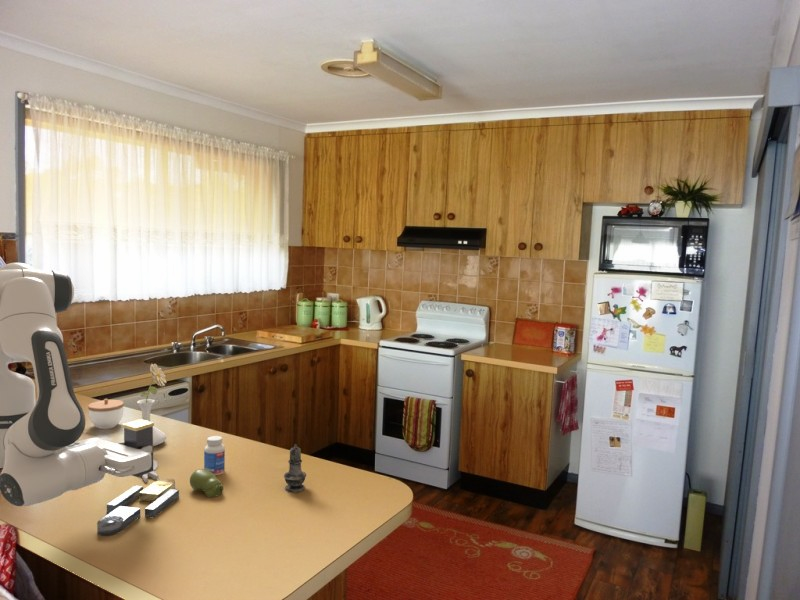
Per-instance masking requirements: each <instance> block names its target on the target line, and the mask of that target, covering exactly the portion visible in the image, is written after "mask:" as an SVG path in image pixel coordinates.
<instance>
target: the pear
mask: <svg viewBox="0 0 800 600" xmlns="http://www.w3.org/2000/svg"><path fill="white" fill-rule="evenodd" d="M189 485H190V487H191V489H194V490H195V491H198V492H199V491H200V492H201V491H204V494H205V496H206V497H208V498H211V499H212V498H214V497H218V496H220V495H222V494H223V491H224V486H223V485H222V482H221V480H220V479H218V478H217V477H216V475H214V474H213V473H211V472H210V471H208V470H205V469H204V468H201V469H200V468H199V469H195V471H192V473H191V475H190V477H189Z"/></svg>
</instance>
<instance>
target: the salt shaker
mask: <svg viewBox="0 0 800 600" xmlns="http://www.w3.org/2000/svg"><path fill="white" fill-rule="evenodd" d="M301 457H302V450H301V448H300V447H298V446H297V444H296V443H295V444H294V445H293V447H291V448H290V450H289V460H288V461H287V462H288V463H289V465H288V467H289V468H288V471H287V472H285V473H284V474H283V478H284V481H285V482H286V486H285V487H284V490H285V491H286V492H287V493H293V494H295V493H301V492H303V491H305V489H306V486H305V485H304V484H303V483H304V482H305V481H306V478H307V473H306V472H304V471H302V462H303V460H302V459H301Z"/></svg>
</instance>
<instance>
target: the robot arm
mask: <svg viewBox="0 0 800 600" xmlns="http://www.w3.org/2000/svg"><path fill="white" fill-rule="evenodd" d="M74 297H75V288H74V284H73V282H72V279H71V277H70V276H69V275H68V274H67V273H65V272H63V271H58V270H54V269H53V270H51V271H49V270H43V269H35V268H33V266H30V265H29V264H27V263H23V262H10V263H7V264H5V265H3V266H1V267H0V469H2V470H1V472H0V494H1V495H2V496H3V498H4V499H5V501H7V502H8V504H9V503H10V504H11V505H12V506H16V507H28V506H29V507H30V506H33V505H36V504H41V503H43V502H47V501H50V500H53V499H55V498H59V497H60V496H62V495H63V494H65V493H67V492H70V491H77V490H80V489H83V488H85V487H89V486H91V485H93V484H97V483H100V482H101V481H103V479H104V477H105V476H106V474H108V475H112V476H115V477H118V478H124V477H125V478H126V477H130V476H132V475H134V474H137V473H140V472H144V471H147V470H149V469H150V468H151V453H152V446H150V445H145V446H142V449H135V448H132V447H128V446H125V445H124V441H119V442H114V441H111V440H108V439H105V438H101V437H89V438H86V439H85V438H84V439H80V438H81V437H82V435H83V434H84V431H85V429H86V415H85V412H84V409H83V408H82V406H81V403H80V402H79V400H78V399H77V395H76V394H75V390H74V386H73V382H72V377H71V372H70V371H71V370H70V367H69V363H68V357H67V353H66V349H65V346H64V337H63V336H64V335H63V332H61V329H60V328H59V327H58V324H57V322H58V321H57V314H58V313H61V312H62V313H63V312H65V311H67V310H69V308H70V307H71V304H72V302H73V300H74ZM23 362H26V363H31V365H32V370H33V374H34V375H33V376H34V380H33V379H32V378H31V377H29V376H26V375H25V374H22V373H18V372H15V371H12V370H10V368H9V364H13V363H23ZM34 381H35V382H34ZM36 392H37V393H36ZM36 395H37V398H36ZM79 439H80V440H79Z"/></svg>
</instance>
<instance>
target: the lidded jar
mask: <svg viewBox="0 0 800 600" xmlns="http://www.w3.org/2000/svg"><path fill="white" fill-rule="evenodd" d="M124 405H125V403H124V401H123V400H120V399H108V398H104V399H103V400H96V401H93V402H91V403H89V404H88V406H87V408H88V415H89V416H88V417H89V419H90V422H91V423H92V424H93V426H94V427H96V429H99V430H106V429H107V430H110V429H113V428H116V427H117V425H118V424H119V423H120V421H122V418H123V415H124Z"/></svg>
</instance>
